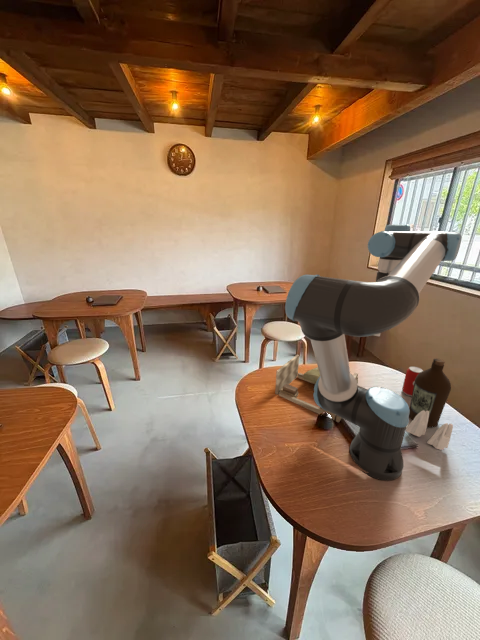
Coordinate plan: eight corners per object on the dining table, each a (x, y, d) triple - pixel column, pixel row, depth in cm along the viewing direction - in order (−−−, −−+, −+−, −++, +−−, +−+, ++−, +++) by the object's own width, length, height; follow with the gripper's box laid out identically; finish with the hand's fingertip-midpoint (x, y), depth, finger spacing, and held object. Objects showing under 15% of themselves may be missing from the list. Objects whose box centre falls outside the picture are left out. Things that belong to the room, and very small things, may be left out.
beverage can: (415, 399, 112) (421, 374, 108) (399, 392, 116) (405, 368, 112) (420, 394, 116) (427, 369, 112) (404, 387, 120) (410, 364, 116)
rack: (338, 422, 99) (343, 395, 95) (275, 395, 114) (276, 370, 110) (353, 398, 113) (358, 373, 109) (295, 376, 128) (296, 354, 124)
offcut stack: (294, 400, 111) (295, 391, 110) (280, 394, 116) (280, 385, 114) (298, 396, 114) (298, 388, 112) (283, 391, 118) (284, 382, 116)
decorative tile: (303, 370, 118) (323, 359, 133) (301, 382, 120) (321, 370, 135) (344, 387, 107) (361, 373, 121) (342, 400, 108) (358, 384, 123)
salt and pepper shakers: (403, 434, 93) (410, 408, 90) (407, 428, 96) (413, 402, 92) (445, 453, 85) (454, 426, 82) (447, 446, 88) (457, 419, 84)
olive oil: (416, 406, 107) (432, 351, 99) (445, 423, 98) (465, 363, 90) (400, 414, 103) (414, 357, 94) (428, 432, 94) (447, 370, 86)
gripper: (397, 276, 84) (383, 343, 91) (405, 269, 97) (393, 328, 105) (371, 273, 88) (360, 338, 96) (383, 267, 102) (372, 324, 110)
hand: (377, 332), depth 100 cm, fingers open, 5 cm apart
